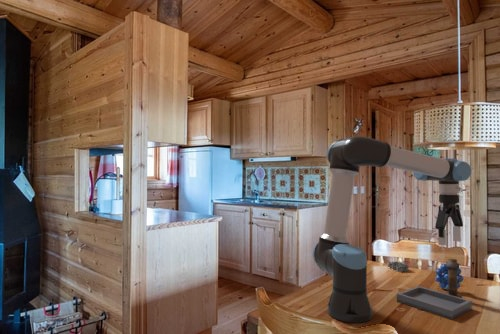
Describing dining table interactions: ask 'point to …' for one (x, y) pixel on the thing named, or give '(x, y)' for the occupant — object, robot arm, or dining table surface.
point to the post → (452, 277)
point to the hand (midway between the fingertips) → (449, 243)
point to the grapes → (446, 277)
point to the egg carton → (398, 264)
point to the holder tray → (435, 302)
